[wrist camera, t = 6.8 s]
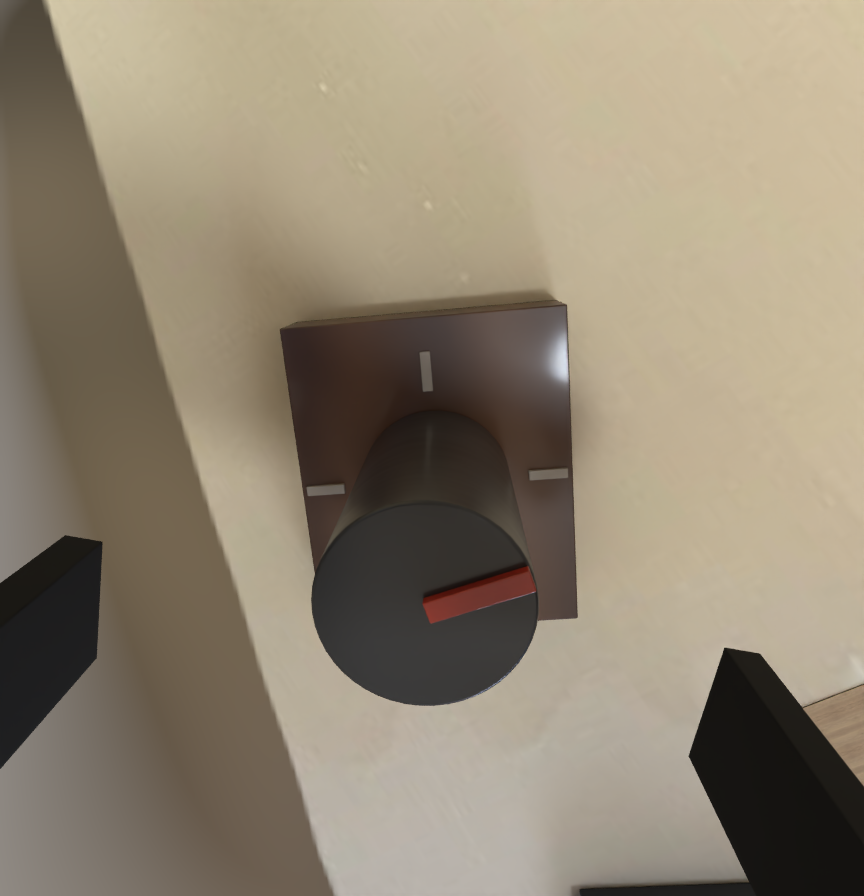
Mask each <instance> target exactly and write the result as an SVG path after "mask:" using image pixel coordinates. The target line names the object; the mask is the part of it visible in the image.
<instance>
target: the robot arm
mask: <svg viewBox="0 0 864 896" xmlns="http://www.w3.org/2000/svg"><path fill="white" fill-rule="evenodd" d="M101 560H102V542H101V541H95V540H90V539H83V538H78V537H71V536H66V535H65V536H64V537H62V538H61V539H60V540H58V541H57V542H56V543H54V544H53V545H51V546H50V547H49V548H48V549H46V550H45V551H43V552H42V553H41V554H39V555H38V556H37V557H35V558H34V559H32V560H31V561H30V562H28V563H27V564H26V565H24V566H23V567H22V568H20V569H19V570H18V571H16V572H15V573H14V574H12V575H11V576H9V577H8V578H7V579H5V580H4V581H3V582H1V583H0V769H1V768H2V766H3V765H4V764H5V763H6V762H7V761H8V759H9V758H10V757H11V756H12V755H13V754H14V753H15V751H16V750H17V749H18V748H19V747H20V745H21V744H22V743H23V742H24V741H25V740H26V739H27V737H28V736H29V735H30V734H31V733H32V731H34V729H35V728H36V727H37V726H38V725H39V724H40V723H41V721H42V720H43V719H44V718H45V717H46V716H47V714H48V713H49V712H50V711H51V710H52V709H53V708H54V706H55V705H56V704H57V703H58V702H59V701H60V700H61V698H62V697H63V696H64V695H65V694H66V693H67V691H68V690H69V689H70V688H71V687H72V686H73V685H74V683H75V682H76V681H77V680H78V679H79V678H80V677H81V675H82V674H83V673H84V672H85V671H86V669H87V668H88V667H89V666H90V665H91V664H92V663H93V661H94V660H95V659H96V658H97V640H98V621H99V601H100V581H101V562H102V561H101ZM689 758H690V760H691V762H692V764H693V766H694V768H695V770H696V772H697V774H698V776H699V779H700V781H701V783H702V785H703V787H704V789H705V791H706V793H707V795H708V797H709V799H710V801H711V803H712V806H713V808H714V810H715V812H716V814H717V816H718V818H719V820H720V822H721V824H722V826H723V828H724V830H725V833H726V835H727V837H728V839H729V841H730V843H731V845H732V847H733V849H734V851H735V853H736V855H737V857H738V860H739V862H740V864H741V866H742V868H743V870H744V872H745V874H746V876H747V878H748V880H749V882H750V884H751V887H752V889H753V891H754V893H755V895H756V896H864V786H863V785H862V783H861V782H860V781H859V779H858V778H857V777H856V776H855V774H854V773H853V772H852V770H851V769H850V768H849V767H848V765H847V764H846V763H845V762H844V760H843V759H842V758H841V756H840V755H839V754H838V753H837V751H836V750H835V749H834V748H833V746H832V745H831V744H830V742H829V741H828V740H827V739H826V737H825V736H824V735H823V733H822V732H821V731H820V730H819V728H818V727H817V726H816V725H815V723H814V722H813V721H812V719H811V718H810V717H809V716H808V714H807V713H806V712H805V711H804V709H803V708H802V707H801V705H800V704H799V703H798V702H797V700H796V699H795V698H794V696H793V695H792V694H791V693H790V691H789V690H788V689H787V688H786V686H785V685H784V684H783V682H782V681H781V680H780V679H779V677H778V676H777V675H776V673H775V672H774V671H773V670H772V668H771V667H770V666H769V665H768V663H767V662H766V661H765V659H764V658H763V657H762V656H761V654H759V653H753V652H747V651H741V650H736V649H730V648H724V651H723V654H722V657H721V660H720V663H719V666H718V669H717V672H716V675H715V678H714V681H713V684H712V687H711V690H710V693H709V696H708V699H707V702H706V705H705V708H704V711H703V714H702V717H701V720H700V723H699V726H698V729H697V732H696V735H695V738H694V741H693V744H692V747H691V750H690V754H689Z"/></svg>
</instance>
